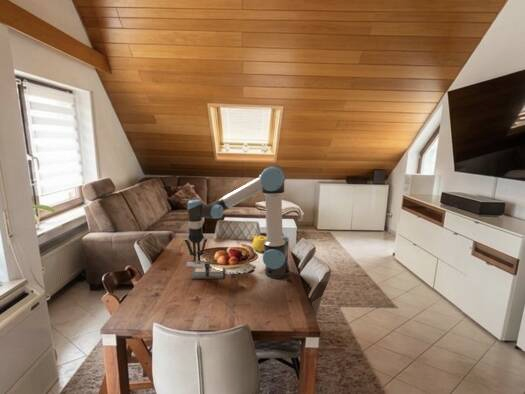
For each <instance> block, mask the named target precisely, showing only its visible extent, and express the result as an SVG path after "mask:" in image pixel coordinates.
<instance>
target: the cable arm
mask: <svg viewBox="0 0 525 394" xmlns="http://www.w3.org/2000/svg"><path fill="white" fill-rule="evenodd" d="M210 266H211V264H210V262H199V263H197V262H196V261H187V262H186V267H193V268H194V267H202V268H210Z"/></svg>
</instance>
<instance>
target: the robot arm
mask: <svg viewBox="0 0 525 394" xmlns="http://www.w3.org/2000/svg"><path fill="white" fill-rule="evenodd" d="M286 179H287V172H286V171H285V169H284V168H283V167H282V166H280V165H277V164H274V165H270V166H268V167H266V168H264V169H263V171H262V172H261V173H260V174H259V176H258V177H257V178H255V179H252V180H251V181H250V182H247V183H246V184H244V185H242V186H240V187H239V188H237V189H235V190H233V191H231V192H230V193H227V194H226V195H224V196H223V197H221V198H218V199H216V200H215V201H213V202H211V203H209V204H208V203H207V204H206V203H205V204H204V203H202V200H200V199H191V200H188V202H187V219H188V222H187V223H188V237H187V238H185V239H184V242H185V244H186V246H187V249H188V252H189V255H190V256H192V257H193V262H197V263H200V262H201V256H203V255H204V251H205V247H206V244H207V242H208V238H207V237H205V236H204V234H203V219H204V218H205V219H221V218H222V217H223V216H224V212H225V211H227V210H229V209H231V208H232V207H234V206H236V205H237V204H240V203H241V202H243V201H245V200H247V199H249V198H251V197H253V196H254V195H256V194H258V193H260V192H261V193H262V195H264V198H265V199H264V202H265V225H266V226H265V227H266V228H265V230H266V231H265V232H266V238H267V239H266V240H265V241H264V251H263V254H262V261H263V264H264V265H265V268H264V274H265V276H266V277H268V278H272V279H277V280H279V279H287V278H288V277H290V276H291V268H290V263H289V243H290V242H289V241H290V240H289V237H288V236H286V235H283V203H282V202H283V201H282V198H283V197H282V196H283V194H284V193H285V181H286ZM202 241H203V244H202V247H201V242H202ZM190 242H191V243H192V245H191V243H190ZM196 245H197V246H196Z"/></svg>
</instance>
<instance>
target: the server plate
mask: <svg viewBox="0 0 525 394" xmlns="http://www.w3.org/2000/svg"><path fill="white" fill-rule="evenodd" d="M211 266H212V265H210V268H202V267H193V268H192V269H193V270H192V271H191V274H190V280H207V279H208V280H210V279H214V280H215V279H216V280H217V279H218V280H219V279H220V280H221V279H224V274H223V271H220V270H216V269H214V268H212V267H211Z"/></svg>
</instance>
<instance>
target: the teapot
mask: <svg viewBox="0 0 525 394" xmlns="http://www.w3.org/2000/svg"><path fill="white" fill-rule="evenodd" d="M266 239H267V236H264V235H258V236H257V235H253V241H252V244H251V245H252V248H253V250H254V251H255V252H259V253H262V252H264V241H265V240H266Z"/></svg>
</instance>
